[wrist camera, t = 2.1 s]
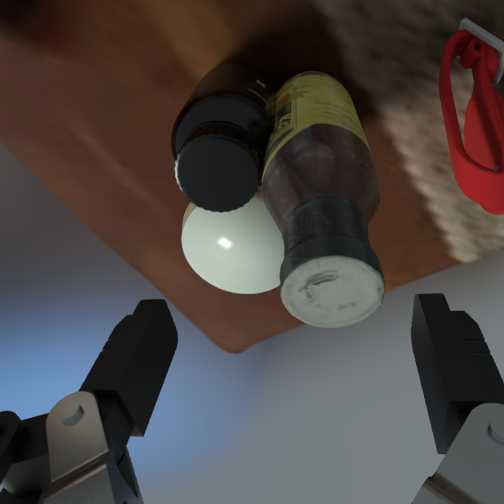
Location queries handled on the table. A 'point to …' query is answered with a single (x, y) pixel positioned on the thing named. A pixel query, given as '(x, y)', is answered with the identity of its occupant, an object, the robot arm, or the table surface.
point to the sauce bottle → (323, 203)
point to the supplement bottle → (224, 137)
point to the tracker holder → (476, 116)
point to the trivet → (234, 246)
